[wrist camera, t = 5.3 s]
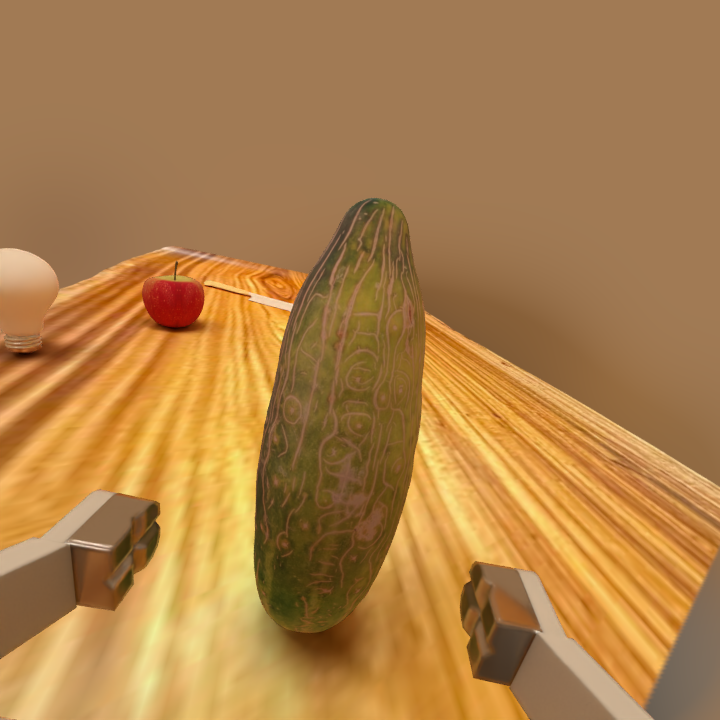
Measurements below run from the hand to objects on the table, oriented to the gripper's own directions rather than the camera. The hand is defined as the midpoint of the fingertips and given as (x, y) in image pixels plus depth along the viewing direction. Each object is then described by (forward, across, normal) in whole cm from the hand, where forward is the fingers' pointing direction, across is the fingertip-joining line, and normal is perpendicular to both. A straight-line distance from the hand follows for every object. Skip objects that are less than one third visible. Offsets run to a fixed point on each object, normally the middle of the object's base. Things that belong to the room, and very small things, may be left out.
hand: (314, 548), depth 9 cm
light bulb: (+28, +35, +11) cm, 47 cm away
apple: (+46, +29, +11) cm, 56 cm away
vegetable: (+6, 0, +11) cm, 13 cm away
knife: (+74, +23, +12) cm, 78 cm away
